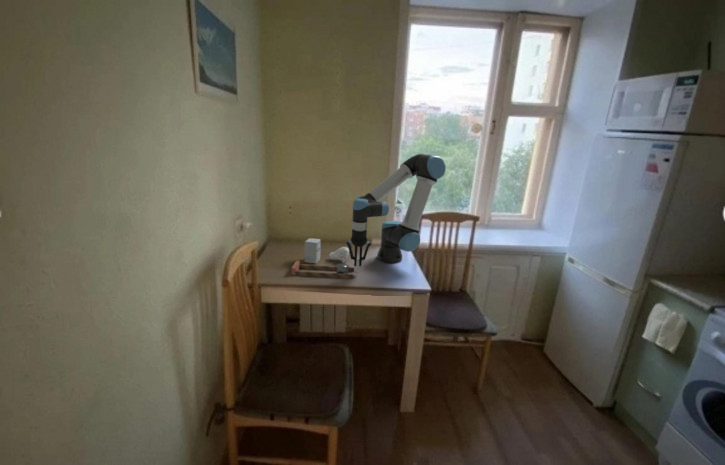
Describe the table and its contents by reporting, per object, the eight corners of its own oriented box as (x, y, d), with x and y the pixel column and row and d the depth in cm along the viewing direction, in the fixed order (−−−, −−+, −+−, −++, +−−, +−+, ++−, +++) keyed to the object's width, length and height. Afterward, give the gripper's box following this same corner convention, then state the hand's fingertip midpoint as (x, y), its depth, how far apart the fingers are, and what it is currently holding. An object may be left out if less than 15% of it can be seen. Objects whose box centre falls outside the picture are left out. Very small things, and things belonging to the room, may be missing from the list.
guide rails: (354, 270, 186) (354, 267, 185) (352, 278, 176) (352, 275, 175) (299, 267, 187) (299, 264, 186) (295, 275, 177) (295, 271, 176)
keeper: (348, 272, 184) (348, 263, 182) (347, 276, 178) (347, 268, 177) (337, 271, 184) (337, 263, 183) (336, 276, 178) (336, 267, 177)
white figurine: (347, 249, 193) (327, 248, 195) (348, 263, 195) (328, 262, 198) (349, 245, 199) (330, 245, 201) (350, 259, 201) (331, 258, 204)
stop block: (299, 267, 187) (299, 260, 186) (295, 275, 177) (295, 268, 176) (296, 267, 187) (296, 260, 186) (291, 275, 177) (291, 267, 176)
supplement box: (316, 263, 193) (316, 242, 189) (304, 262, 194) (304, 241, 191) (320, 259, 200) (320, 239, 196) (308, 257, 201) (308, 237, 197)
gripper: (372, 227, 177) (369, 269, 184) (347, 226, 177) (345, 268, 184) (372, 232, 170) (369, 275, 176) (346, 230, 170) (344, 273, 177)
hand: (357, 271), depth 180 cm, fingers closed
